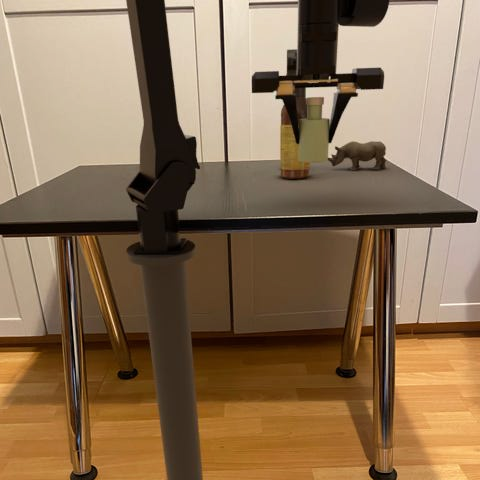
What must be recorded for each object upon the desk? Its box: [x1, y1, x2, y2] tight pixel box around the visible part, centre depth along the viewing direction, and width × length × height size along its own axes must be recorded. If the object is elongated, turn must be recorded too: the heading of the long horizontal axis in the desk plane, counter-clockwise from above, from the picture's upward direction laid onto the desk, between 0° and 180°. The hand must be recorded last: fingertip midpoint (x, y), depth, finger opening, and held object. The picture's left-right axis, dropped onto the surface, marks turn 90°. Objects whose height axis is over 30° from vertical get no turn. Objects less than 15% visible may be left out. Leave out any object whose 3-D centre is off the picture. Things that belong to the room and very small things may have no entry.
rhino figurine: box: [327, 140, 387, 171], centre depth 108 cm, size 4×14×6 cm, turn 84°
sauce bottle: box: [279, 73, 311, 180], centre depth 98 cm, size 7×6×20 cm
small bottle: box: [298, 96, 331, 164], centre depth 73 cm, size 5×5×9 cm
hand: (313, 143), depth 74 cm, fingers closed on small bottle, 4 cm apart
